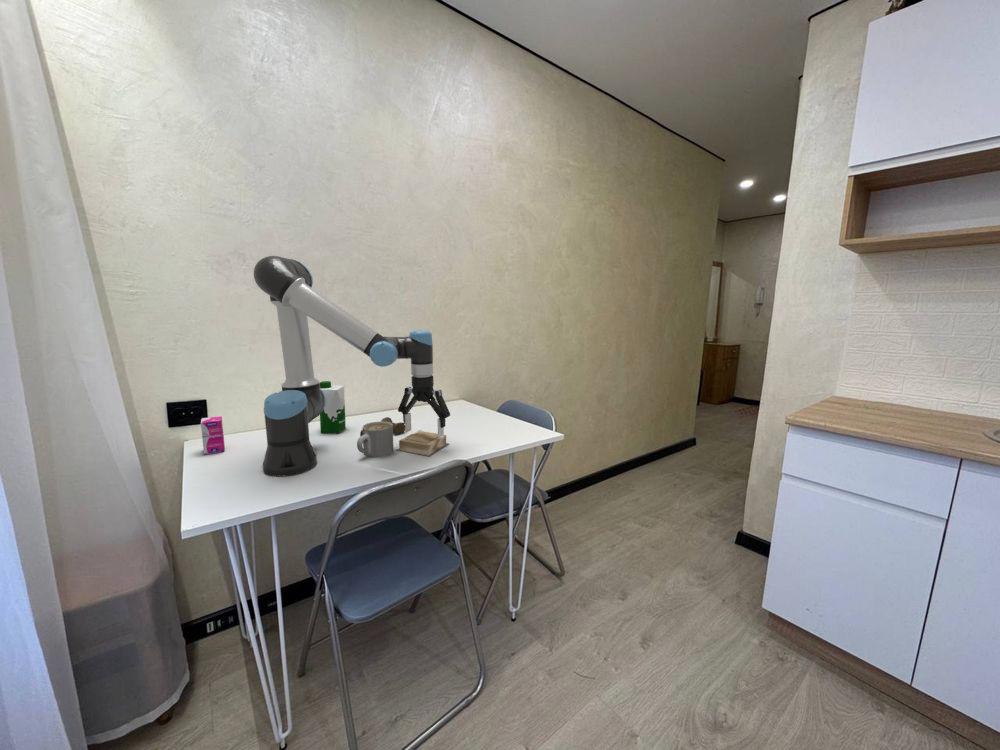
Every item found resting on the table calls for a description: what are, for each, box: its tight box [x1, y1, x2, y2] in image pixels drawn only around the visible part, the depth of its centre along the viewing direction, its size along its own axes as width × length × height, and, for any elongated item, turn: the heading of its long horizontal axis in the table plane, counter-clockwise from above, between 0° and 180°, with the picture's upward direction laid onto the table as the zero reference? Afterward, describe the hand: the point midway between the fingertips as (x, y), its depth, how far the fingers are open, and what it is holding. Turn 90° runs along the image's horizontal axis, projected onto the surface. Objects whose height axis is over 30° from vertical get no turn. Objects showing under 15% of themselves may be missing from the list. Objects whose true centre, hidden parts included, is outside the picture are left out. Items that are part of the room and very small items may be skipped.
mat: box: [395, 442, 450, 458], centre depth 143 cm, size 14×14×1 cm
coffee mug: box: [356, 421, 394, 458], centre depth 136 cm, size 13×10×10 cm
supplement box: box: [200, 416, 226, 456], centre depth 136 cm, size 6×6×12 cm
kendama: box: [359, 416, 406, 437], centre depth 156 cm, size 6×10×20 cm
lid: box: [398, 430, 447, 456], centre depth 143 cm, size 12×12×4 cm
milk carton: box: [319, 380, 347, 435], centre depth 158 cm, size 9×9×20 cm
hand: (424, 433), depth 142 cm, fingers open, 13 cm apart
